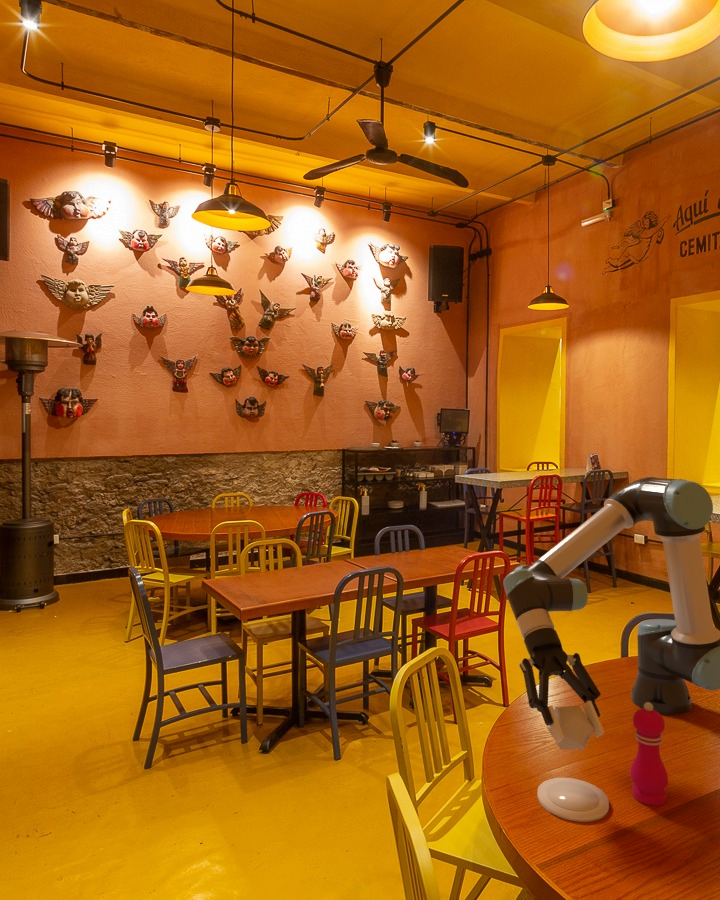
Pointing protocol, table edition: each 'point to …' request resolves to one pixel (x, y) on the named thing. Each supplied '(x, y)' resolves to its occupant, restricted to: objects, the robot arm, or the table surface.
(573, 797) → the plate
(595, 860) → the table surface
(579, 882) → the table surface
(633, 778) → the pepper mill
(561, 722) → the die
